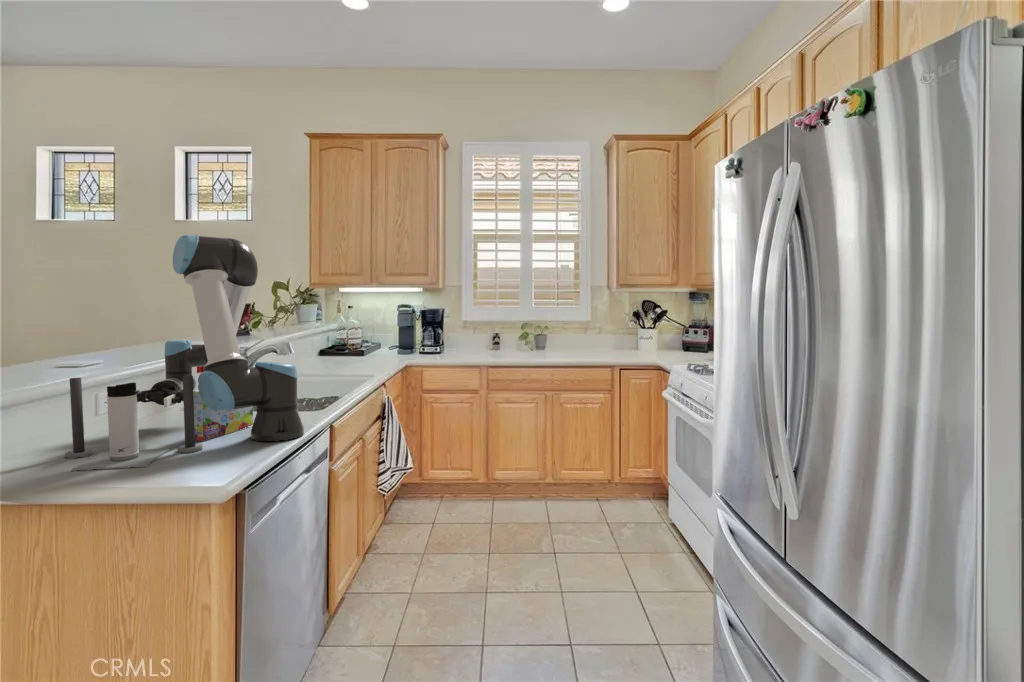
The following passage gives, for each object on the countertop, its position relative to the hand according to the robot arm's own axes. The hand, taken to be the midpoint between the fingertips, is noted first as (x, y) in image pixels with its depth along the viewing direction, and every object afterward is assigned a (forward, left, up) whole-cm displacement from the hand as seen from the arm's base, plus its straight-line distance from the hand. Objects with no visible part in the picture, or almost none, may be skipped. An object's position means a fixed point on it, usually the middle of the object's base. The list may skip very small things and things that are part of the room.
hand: (138, 404), depth 150 cm
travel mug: (-4, +9, -13) cm, 16 cm away
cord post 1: (+11, +8, -13) cm, 19 cm away
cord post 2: (-13, -3, -13) cm, 19 cm away
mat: (-4, +9, -13) cm, 16 cm away
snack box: (-8, -23, -13) cm, 28 cm away
